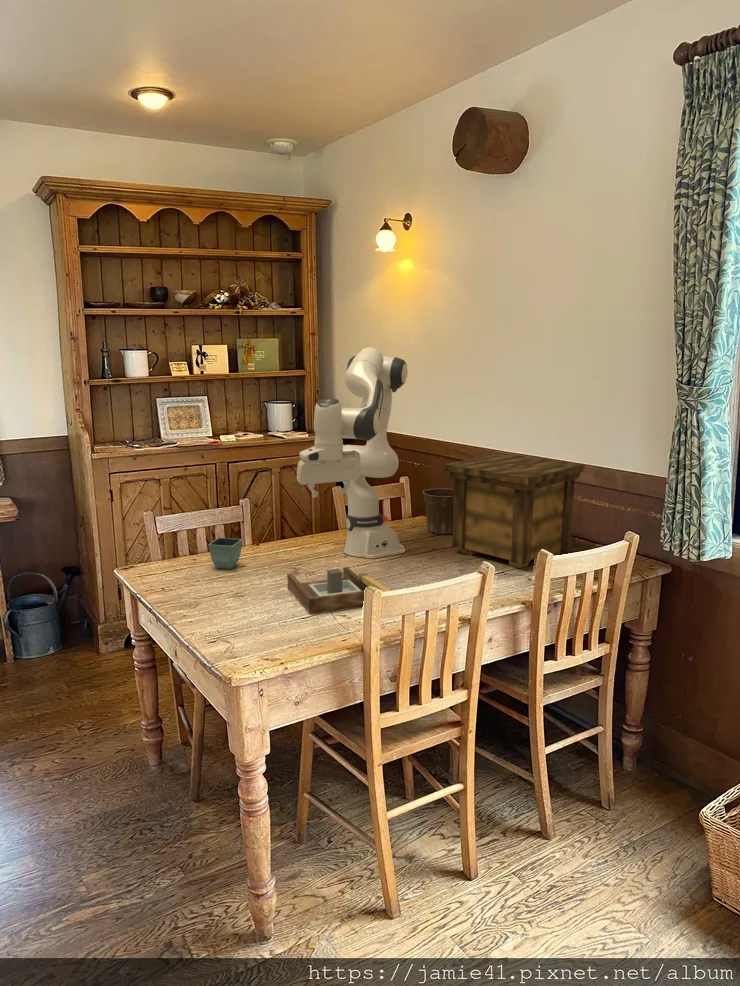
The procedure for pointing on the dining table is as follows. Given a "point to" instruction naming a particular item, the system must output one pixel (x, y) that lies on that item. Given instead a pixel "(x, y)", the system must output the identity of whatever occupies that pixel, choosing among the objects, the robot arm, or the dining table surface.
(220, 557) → the flower pot
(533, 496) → the crate
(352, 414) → the robot arm
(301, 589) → the tray
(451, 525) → the plant pot
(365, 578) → the yellow bar
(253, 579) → the dining table surface
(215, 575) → the dining table surface
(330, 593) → the shallow grey tray
